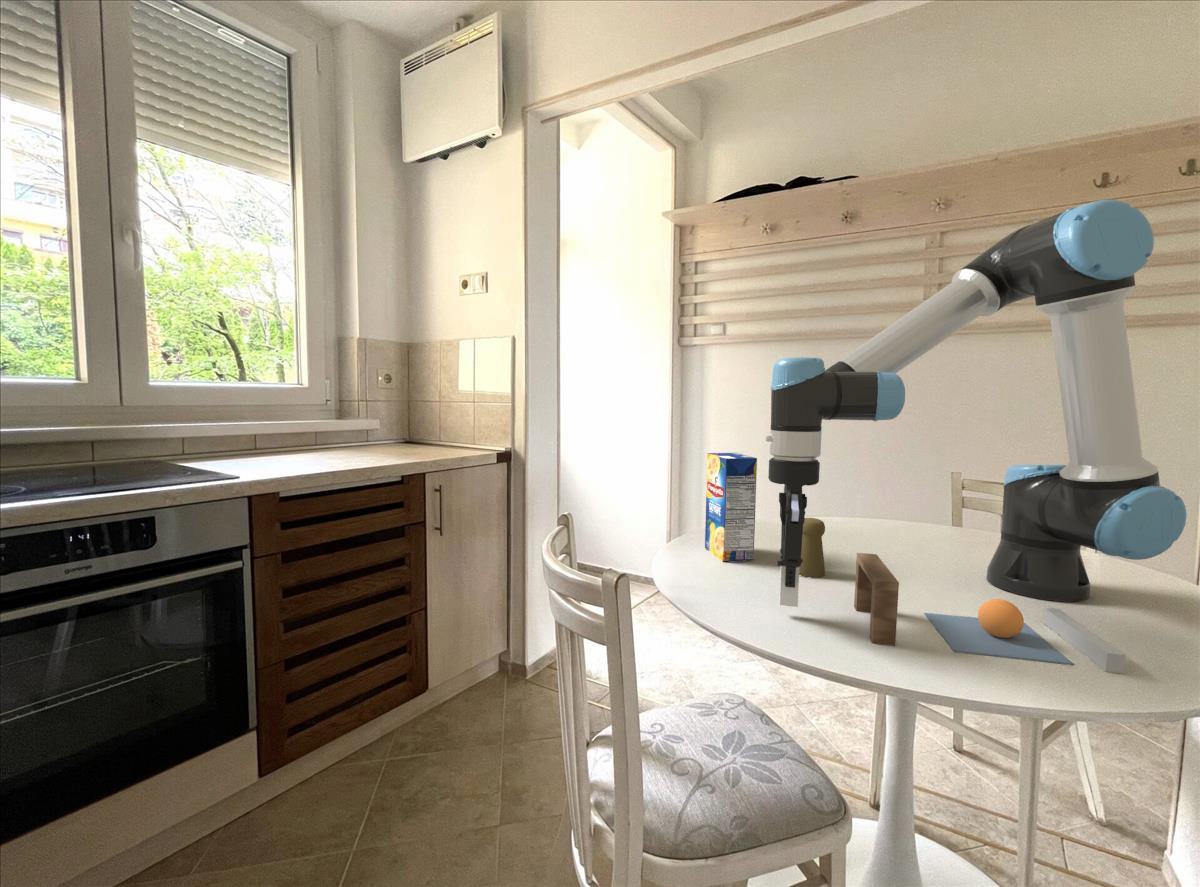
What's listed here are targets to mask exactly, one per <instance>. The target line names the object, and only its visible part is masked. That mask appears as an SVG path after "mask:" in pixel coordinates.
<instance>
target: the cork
mask: <svg viewBox="0 0 1200 887" xmlns="http://www.w3.org/2000/svg"><path fill="white" fill-rule="evenodd" d="M825 532H826V525H825V523H824V521H823V520H822V519H819V518H815V517H814V518H813V517H805V519H804V524H803V534H802V549H801V558H802V560H803V563H801V566H800V567H799V575H801V576H800V577H802V576H804V577H803V578H807V577H811V578H810V579H821V577H822V578H825V577H826V570H825V569H826V567H825V560H824V559H825V558H824V547H823V538H822V537H823V536H824V535H825Z"/></svg>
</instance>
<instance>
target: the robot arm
mask: <svg viewBox="0 0 1200 887" xmlns="http://www.w3.org/2000/svg"><path fill="white" fill-rule="evenodd" d="M1154 236H1155V235H1154V232H1153V228H1152V226H1151V223H1150V221H1149V220H1148V218H1147V217H1146V215H1145V214H1144V213H1142V211H1141V210H1139V209H1138V208H1136V207H1133V206H1131V205H1130V204H1129V203H1128V202H1125V201H1122V200H1117V199H1102V200H1096V201H1092V202H1089V203H1084V204H1081V205H1079V204H1078V205H1076V206H1074V207H1071V208H1068V209H1066V210H1064V211H1062V212H1059V213H1057V214H1055V215H1052V216H1050V217H1046V218H1044V219H1042V220H1039V221H1038V222H1037V221H1036V222H1035V223H1030V224H1028V225H1025V226H1023V227H1020V228H1018V229H1017V230H1015V231H1013V232H1011V233H1010V234H1008V235H1007V236H1005V237H1003V238H1001V239H1000V240H999V241H998V242H996V243H995V244H993V245H992V246H991V247H989V248H987V249H986V250H985V251H984V252H982V253H981V254H980V255H978V256H977V257H975V259H973V260H971V262H968V263H967V264H966V265H965V266H963V267H962V268H960V269H959V270H957V271H956V272H955V273H954V274H953V275H952V278H951V283H949V284H948V285H946V286H945V287H943V288H941V289H940V290H939V291H937V292H936V293H935V294H933V295H932V296H930V297H929V298H927V299H926V300H924V301H923V302H922V303H920V304H918V306H916V307H915V308H913V309H912V310H910V311H909V312H907V313H906V314H904V315H903V316H901V317H900V318H899V319H897V320H896V321H894V322H893V323H891V324H890V325H889V326H887V327H885V329H882V331H880V332H879V333H877V334H876V335H874V336H873V337H872V338H870V339H868V340H867V341H865V342H864V343H863V344H861V345H860V346H858V347H857V348H856V349H854V350H852V351H851V352H850V353H848V354H847V355H846V356H844V357H843V358H840V359H839V361H838V362H836V363H833V365H831V366H829V367H828V368H827V369H826V368H825V361H824V360H823V359H822V358H820V357H785V358H779V359H777V360H776V361H775V363H774V364H773V367H772V368H773V369H772V374H771V385H770V391H771V392H770V394H771V395H770V397H771V398H770V401H771V402H770V434H771V435H766V437H765V441H766V442H768V443H769V442H770V443H769V454H770V455H771V456H773V457H770V459H769V460H768V480H769V482H771V483H774V484H777V485H783V492H779V493H778V503H779V505H780V506H779V518H780V521H781V529H780V530H781V534H780V536H781V538H780V549H779V552H780V560H777V566H779V567H780V570H779V571H780V576H779V600H778V602H779V606H786V607H795V608H799V584H800V576H799V567H800V566H801V563H803V560H802V558H801V549H802V534H803V524H804V519H805V518H806V516H805V515H806V508H807V507H808V496H806V493H803V487H804V486H807V487H808V486H814V485H817V484H819V482H820V469H821V468H820V467H821V462H819V460H818V459H817V458H819V457H820V456H821V455H822V454H821V453H822V452H821V449H822V432H823V431H822V424H823V420H824V421H831V420H837V421H839V420H840V421H873V422H878V421H890V420H891V421H892V420H894V419H896V418H897V417H898V416H899V415H900V414H901V413H902V411H903V408H904V405H905V402H906V401H905V400H906V387H905V383H904V382H903V379H902V378H901V377H900V375H899V374H897V373H899V372H900V371H901V370H903V369H904V368H906V367H907V366H909V365H910V364H911V363H913V362H915V361H916V360H918V359H920V358H921V357H923V356H924V355H926V353H928V352H929V351H932V349H934V348H935V347H937V346H938V345H939V344H941V343H943V342H944V341H945V340H948V339H949V337H951V336H953V335H954V334H956V333H957V332H958V331H959V332H960V330H962V329H963V328H965V327H966V326H968V325H969V324H970V323H972V322H974V320H976V319H977V318H979V317H990V316H992V315H994V314H995V313H997V312H998V311H1000V310H1001V309H1003V308H1005V307H1006V306H1008V305H1011V304H1014V303H1016V302H1019V301H1022V300H1024V299H1025V300H1026V299H1029V298H1033V297H1034V299H1035V300H1034V301H1035V307H1036V309H1038V310H1040V311H1042V312H1043V313H1045V314H1046V315H1048V317H1049V319H1050V320H1049V321H1050V326H1051V333H1052V334H1051V336H1052V340H1053V341H1052V342H1053V350H1054V356H1055V362H1056V369H1057V377H1058V378H1057V379H1058V384H1059V391H1060V393H1059V394H1060V399H1061V407H1062V413H1063V421H1064V426H1065V427H1064V428H1065V436H1066V444H1067V450H1068V457H1069V458H1068V459H1069V461H1068V463H1067V464H1015V465H1011V466H1010V467H1009V468H1008V469H1006V472H1005V478H1004V483H1003V485H1002V487H1003V496H1002V498H1003V499H1002V512H1001V514H1002V515H1001V530H1000V531H1001V533H1000V540H999V544H998V546H997V548H996V550H995V552H994V554H993V556H992V558H991V560H990V562H989V564H988V566H987V570H986V580H987V582H988V583H989V584H991V585H992V586H994V587H997V588H999V589H1001V590H1003V591H1007V592H1009V593H1010V592H1011V593H1013V594H1016V595H1021V596H1025V597H1030V598H1034V599H1035V598H1036V599H1041V600H1047V601H1055V602H1057V601H1058V602H1082V601H1086V600H1088V599H1089V598H1090V594H1091V582H1090V579H1089V576H1088V573H1087V570H1086V566H1085V563H1084V561H1083V558H1082V555H1081V547H1084V548H1088V549H1091V550H1094V551H1097V552H1100V553H1102V554H1105V555H1107V556H1111V557H1119V558H1124V559H1126V560H1132V561H1133V560H1134V561H1136V560H1138V561H1139V560H1140V561H1141V560H1148V559H1151V558H1154V557H1157V556H1159V555H1161V554H1163V553H1165V552H1166V551H1168V550H1170V548H1171V547H1172V545H1173V544H1174V543H1175V542H1176V541H1178V540H1179V539H1180V537H1181V535H1182V533H1183V532H1184V528H1185V526H1186V523H1187V521H1186V520H1187V515H1188V514H1187V508H1186V505H1185V503H1184V500H1183V499H1182V498H1181V496H1179V495H1177V494H1176V492H1175V491H1172V490H1171V489H1170V488H1167V487H1164V486H1161V482H1160V475H1159V474H1160V473H1159V469H1158V466H1156V465H1155V464H1154V463H1152V462H1150V461H1149V460H1148V459H1146V458H1145V457H1143V451H1142V442H1141V436H1140V435H1141V434H1140V426H1139V419H1138V418H1139V417H1138V412H1137V411H1138V410H1137V409H1138V408H1137V403H1136V395H1135V386H1134V378H1133V371H1132V370H1133V369H1132V363H1131V355H1130V354H1131V353H1130V347H1129V345H1130V344H1129V339H1128V332H1127V330H1128V329H1127V324H1126V323H1127V322H1126V315H1125V313H1126V312H1125V308H1124V307H1125V306H1124V301H1125V300H1126V298H1127V297H1128V296H1129V295H1130V294H1131V293H1132V292H1133V291H1134V290H1135V289H1136V286H1137V285H1136V281H1135V278H1136V277H1135V274H1136V273H1137V272H1139V271H1140V270H1141V269H1143V267H1145V265H1146V264H1147V263H1148V257H1151V255H1152V253H1153V252H1154V244H1155V237H1154Z"/></svg>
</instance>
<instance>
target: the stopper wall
mask: <svg viewBox="0 0 1200 887" xmlns="http://www.w3.org/2000/svg"><path fill="white" fill-rule="evenodd" d="M1042 619H1043V620H1042V623H1043V624H1044V625H1045V626H1046V625H1047V626H1048V627H1047V626H1046V627H1047V628H1049V629H1050V628H1051V629H1052V630H1051V629H1050V630H1051V631H1052V632H1054V633H1055V632H1056V633H1057V634H1056V633H1055V634H1056V635H1058V634H1059V635H1060V636H1061V637H1060V636H1059V635H1058V636H1059V637H1060V638H1061V639H1063V638H1064V639H1065V640H1066V641H1065V640H1064V639H1063V640H1064V641H1065V642H1067V643H1068V642H1069V643H1070V644H1069V643H1068V644H1069V645H1071V646H1072V647H1073V646H1074V647H1075V648H1074V647H1073V648H1074V649H1076V650H1077V649H1078V650H1079V651H1078V650H1077V651H1078V652H1079V653H1081V654H1082V653H1083V654H1084V655H1083V654H1082V655H1083V656H1084V657H1086V656H1087V657H1088V658H1087V657H1086V658H1087V659H1089V660H1090V659H1091V660H1092V661H1093V662H1092V661H1091V660H1090V661H1091V662H1092V663H1094V662H1095V663H1096V664H1097V665H1096V664H1095V663H1094V664H1095V665H1096V666H1097V667H1099V666H1100V667H1101V668H1102V669H1101V668H1100V667H1099V668H1100V669H1101V670H1103V671H1104V672H1107V673H1114V674H1122V673H1123V674H1125V669H1126V668H1125V667H1126V656H1127V654H1125V653H1124V652H1122V651H1121V650H1120V649H1118V648H1116V647H1115V646H1114V645H1112V644H1111V643H1109V642H1108V641H1106V640H1105V639H1103V638H1102V637H1101V636H1099V635H1098V634H1096V633H1094V632H1093V631H1091V629H1089V628H1087V627H1086V626H1085V625H1083V624H1082V623H1081V622H1079V621H1077V620H1076V619H1074V617H1072V616H1070V615H1069V614H1068V613H1066V612H1065V611H1063V610H1062V609H1061V608H1051V607H1044V609H1043V618H1042Z"/></svg>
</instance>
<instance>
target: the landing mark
mask: <svg viewBox="0 0 1200 887" xmlns="http://www.w3.org/2000/svg"><path fill="white" fill-rule="evenodd" d="M923 614H924V616H925V617H926V618H927V619H928V621H929V622H930V624H932V625H933V627H934V628H935V629H936V631H937V632H938V633H939V634H940V636H941V637H942V638H943V639H944V641H945V642H946V644H948V646H949V647H950V648H951V649H952V651H953V652H955V653H962V654H963V653H964V654H971V655H981V656H988V657H989V656H990V657H999V658H1008V659H1018V660H1024V661H1025V660H1026V661H1035V662H1043V663H1044V662H1045V663H1053V664H1061V663H1062V664H1063V665H1069V664H1071V665H1072V666H1075V665H1074V664H1075V663H1074V662H1073V661H1071V659H1070V658H1068V657H1066V656H1065V655H1064V654H1063V653H1061V651H1059V650H1058V649H1057V648H1056V647H1054V646H1053V645H1052V644H1051V643H1050V642H1048V641H1047V640H1046V639H1045V637H1042V635H1040V634H1039V633H1037V632H1036V631H1035V630H1034V629H1033V628H1032V627H1030V626H1029V625H1028V624H1027V623H1026V622H1024V625H1023V628H1022V630H1021V631H1020V633H1019V634H1017V635H1016V636H1014V637H1011V638H999V637H995V636H993V635H991V634H989V633H988V632H986V631H985V630H984V629H983V627H982V626H981V625H980V622H979V619H978V617H971V616H964V615H963V616H962V615H951V614H942V613H933V612H924V613H923ZM1071 665H1070V666H1071Z"/></svg>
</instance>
